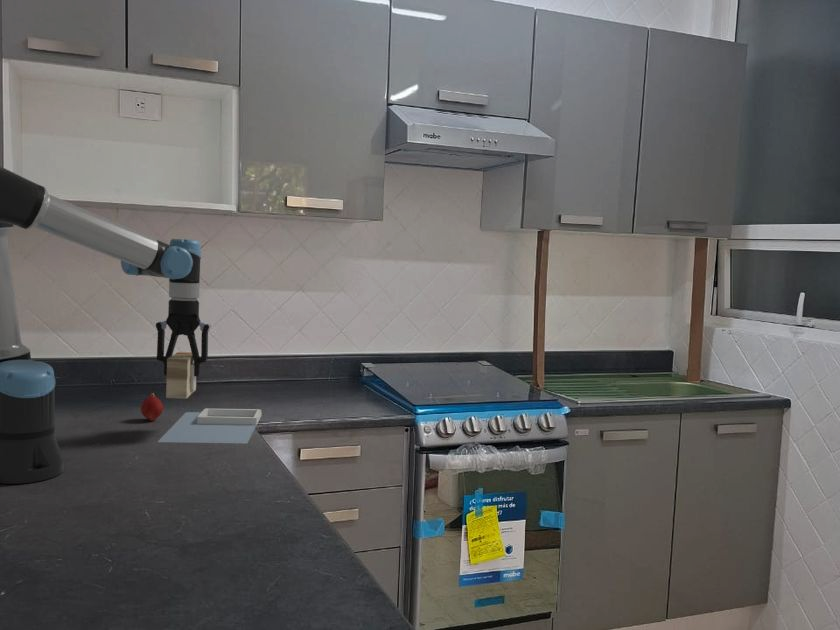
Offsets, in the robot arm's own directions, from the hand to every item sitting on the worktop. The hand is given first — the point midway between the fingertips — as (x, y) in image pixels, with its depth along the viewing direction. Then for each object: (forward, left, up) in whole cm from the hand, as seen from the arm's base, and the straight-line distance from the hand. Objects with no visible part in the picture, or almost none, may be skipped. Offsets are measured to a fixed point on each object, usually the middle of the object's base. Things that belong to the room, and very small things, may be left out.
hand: (181, 388), depth 197 cm
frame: (+15, -10, -12) cm, 22 cm away
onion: (+13, +11, -12) cm, 21 cm away
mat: (+7, -7, -12) cm, 16 cm away
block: (0, 0, -1) cm, 1 cm away
